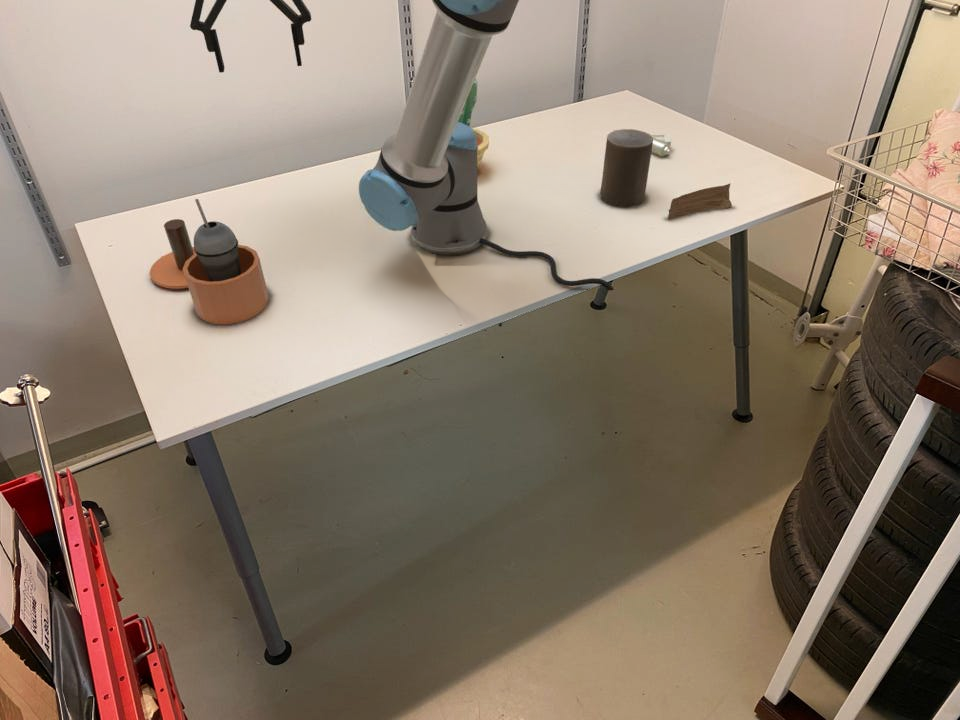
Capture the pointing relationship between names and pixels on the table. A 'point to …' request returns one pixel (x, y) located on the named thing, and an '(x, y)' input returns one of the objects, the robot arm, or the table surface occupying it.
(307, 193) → the table surface
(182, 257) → the lid
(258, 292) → the canister
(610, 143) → the pillar candle
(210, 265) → the beverage cup
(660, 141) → the pipe fitting
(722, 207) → the wood plank
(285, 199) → the table surface
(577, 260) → the table surface
